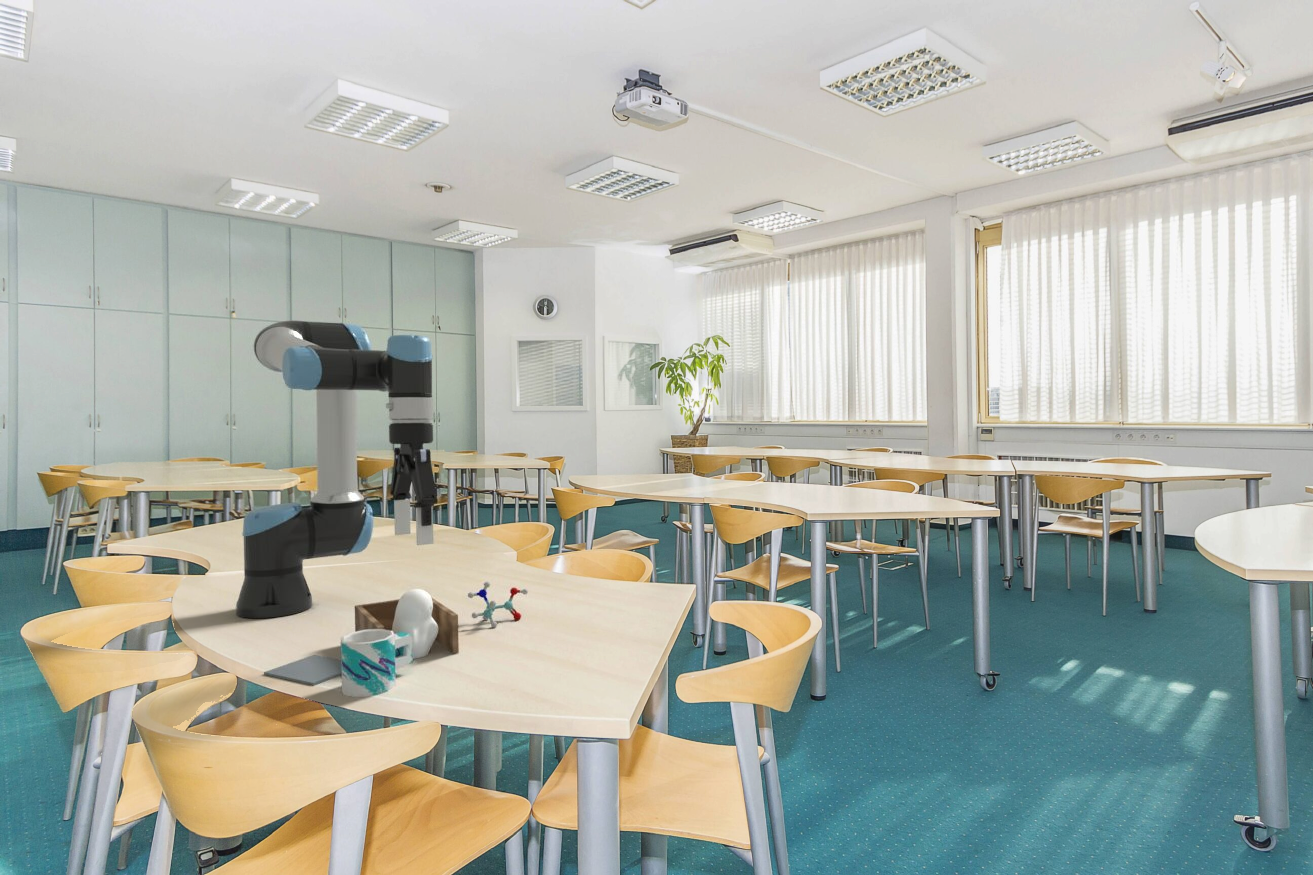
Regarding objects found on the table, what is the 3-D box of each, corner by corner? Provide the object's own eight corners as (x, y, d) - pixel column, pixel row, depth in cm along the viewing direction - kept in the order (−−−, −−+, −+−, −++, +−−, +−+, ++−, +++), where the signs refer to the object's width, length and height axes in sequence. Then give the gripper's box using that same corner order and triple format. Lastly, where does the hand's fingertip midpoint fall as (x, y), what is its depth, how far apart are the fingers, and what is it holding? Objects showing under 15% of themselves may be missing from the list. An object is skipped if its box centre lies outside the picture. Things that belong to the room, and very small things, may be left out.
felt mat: (263, 674, 125) (263, 672, 125) (314, 656, 134) (314, 654, 134) (313, 685, 120) (313, 682, 120) (362, 666, 129) (362, 663, 129)
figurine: (411, 663, 130) (410, 595, 129) (383, 656, 134) (381, 590, 134) (443, 652, 136) (441, 587, 136) (414, 645, 140) (413, 582, 140)
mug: (330, 691, 117) (329, 638, 117) (389, 667, 128) (388, 619, 128) (367, 700, 113) (366, 645, 113) (425, 675, 124) (424, 625, 124)
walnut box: (355, 641, 143) (354, 605, 142) (428, 629, 150) (427, 595, 150) (378, 668, 128) (378, 627, 127) (458, 652, 135) (458, 614, 135)
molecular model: (509, 614, 148) (494, 569, 152) (471, 635, 150) (456, 590, 154) (538, 616, 158) (522, 574, 162) (501, 636, 160) (487, 594, 164)
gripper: (371, 421, 142) (374, 532, 143) (410, 422, 122) (413, 551, 122) (411, 421, 146) (413, 528, 147) (455, 421, 126) (457, 546, 126)
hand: (413, 539), depth 135 cm, fingers open, 13 cm apart
